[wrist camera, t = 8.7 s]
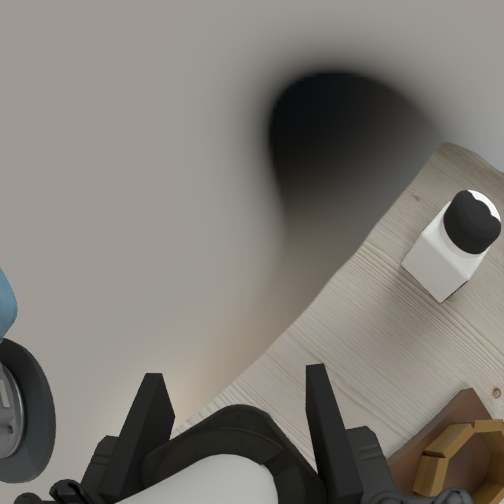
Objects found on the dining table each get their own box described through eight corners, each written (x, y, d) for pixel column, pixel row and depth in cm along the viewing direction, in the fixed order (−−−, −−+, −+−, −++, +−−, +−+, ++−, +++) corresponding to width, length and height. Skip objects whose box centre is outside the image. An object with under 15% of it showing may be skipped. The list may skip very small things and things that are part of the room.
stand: (427, 539, 19) (453, 556, 13) (373, 469, 25) (396, 479, 19) (505, 461, 22) (538, 462, 16) (460, 390, 27) (493, 381, 22)
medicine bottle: (439, 305, 32) (494, 257, 22) (399, 264, 35) (439, 204, 25) (466, 268, 34) (516, 215, 24) (428, 232, 37) (467, 170, 27)
